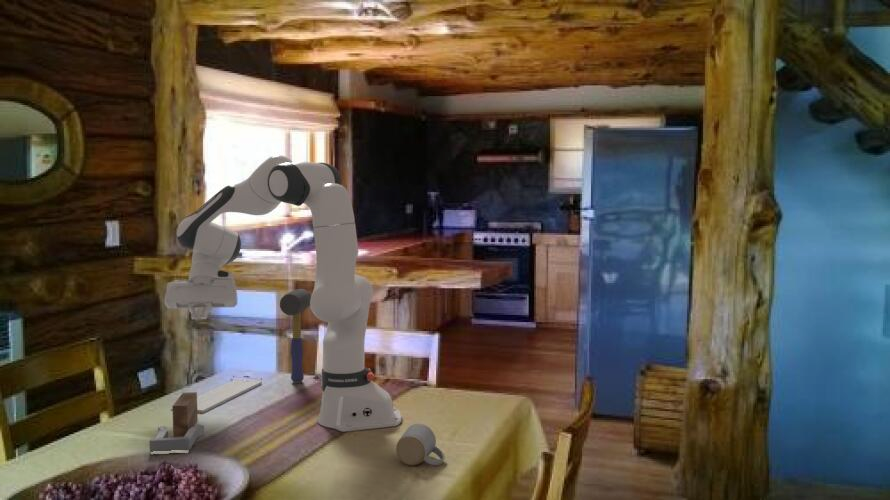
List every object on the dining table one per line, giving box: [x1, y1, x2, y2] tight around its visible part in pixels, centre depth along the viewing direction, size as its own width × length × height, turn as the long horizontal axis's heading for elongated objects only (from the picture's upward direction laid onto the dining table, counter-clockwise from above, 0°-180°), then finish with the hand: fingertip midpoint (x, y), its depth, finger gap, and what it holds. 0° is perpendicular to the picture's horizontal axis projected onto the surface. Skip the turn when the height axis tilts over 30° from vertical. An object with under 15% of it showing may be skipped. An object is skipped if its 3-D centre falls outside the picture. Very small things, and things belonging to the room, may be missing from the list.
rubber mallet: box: [279, 288, 312, 384], centre depth 232 cm, size 12×8×30 cm, turn 172°
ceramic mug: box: [395, 423, 446, 467], centre depth 167 cm, size 11×8×8 cm
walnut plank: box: [171, 391, 199, 438], centre depth 189 cm, size 4×12×8 cm, turn 8°
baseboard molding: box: [170, 375, 263, 414], centre depth 218 cm, size 31×3×12 cm
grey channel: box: [149, 423, 205, 453], centre depth 178 cm, size 11×14×4 cm
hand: (198, 318), depth 207 cm, fingers closed
